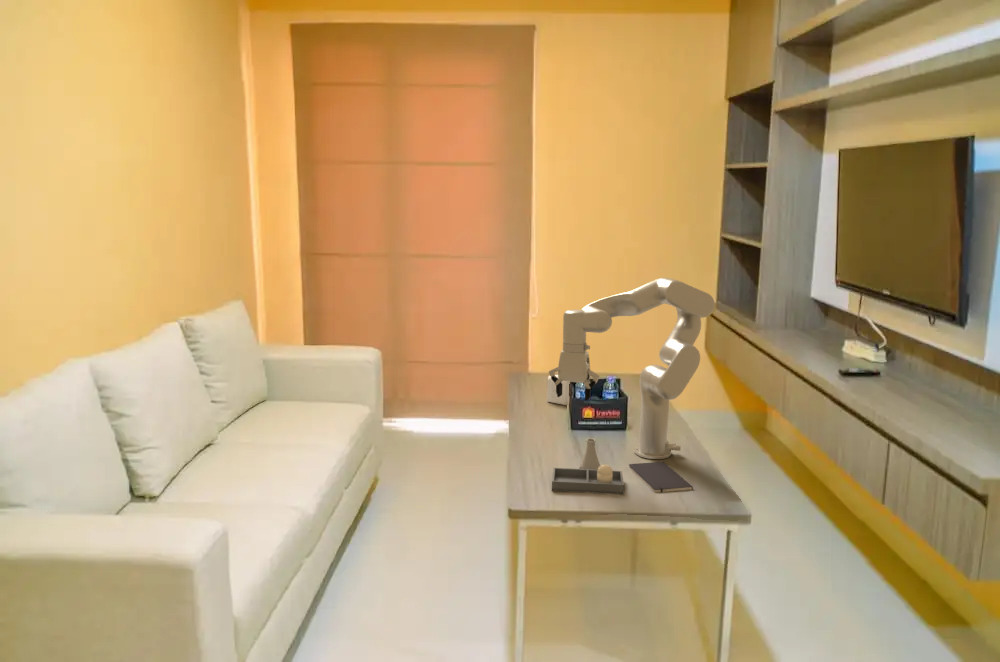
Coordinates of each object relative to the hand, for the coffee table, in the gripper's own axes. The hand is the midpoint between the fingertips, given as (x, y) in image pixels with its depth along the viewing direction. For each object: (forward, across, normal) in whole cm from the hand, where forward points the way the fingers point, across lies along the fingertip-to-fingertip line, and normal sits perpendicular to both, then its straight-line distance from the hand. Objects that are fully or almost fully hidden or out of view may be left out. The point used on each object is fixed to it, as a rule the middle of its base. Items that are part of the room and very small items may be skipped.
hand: (573, 397), depth 239 cm
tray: (+23, -11, +16) cm, 30 cm away
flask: (+23, -7, +3) cm, 24 cm away
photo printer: (+23, +28, -64) cm, 73 cm away
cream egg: (+22, -16, +14) cm, 31 cm away
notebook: (+24, -30, 0) cm, 38 cm away
